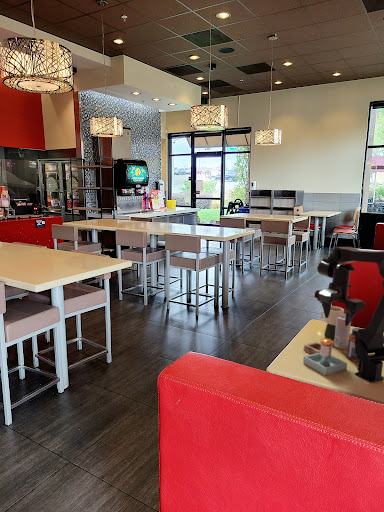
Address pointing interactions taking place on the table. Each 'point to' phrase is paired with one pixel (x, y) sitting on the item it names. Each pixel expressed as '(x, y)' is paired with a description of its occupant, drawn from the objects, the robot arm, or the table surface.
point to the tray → (313, 362)
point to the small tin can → (325, 352)
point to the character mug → (332, 321)
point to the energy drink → (341, 333)
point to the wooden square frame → (313, 348)
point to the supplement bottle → (352, 345)
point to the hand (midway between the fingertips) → (336, 321)
